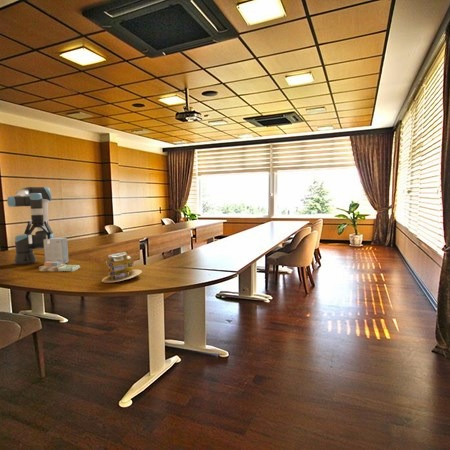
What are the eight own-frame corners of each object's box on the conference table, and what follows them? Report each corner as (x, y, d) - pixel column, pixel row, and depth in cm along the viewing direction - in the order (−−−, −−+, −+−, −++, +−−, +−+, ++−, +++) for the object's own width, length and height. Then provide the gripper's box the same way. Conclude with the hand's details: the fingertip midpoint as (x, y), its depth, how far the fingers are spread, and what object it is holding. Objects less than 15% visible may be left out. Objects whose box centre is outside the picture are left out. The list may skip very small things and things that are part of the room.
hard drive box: (69, 262, 246) (67, 237, 244) (63, 264, 239) (61, 239, 237) (51, 262, 248) (49, 237, 246) (44, 264, 240) (42, 239, 238)
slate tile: (51, 266, 221) (51, 262, 220) (55, 264, 225) (55, 261, 225) (57, 266, 220) (57, 262, 220) (61, 264, 225) (61, 261, 224)
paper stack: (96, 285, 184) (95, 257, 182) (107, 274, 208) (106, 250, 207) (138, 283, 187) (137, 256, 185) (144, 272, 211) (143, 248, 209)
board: (39, 271, 219) (38, 267, 219) (48, 267, 229) (48, 263, 229) (57, 271, 218) (57, 267, 217) (66, 268, 227) (65, 264, 227)
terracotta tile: (44, 266, 221) (44, 262, 221) (48, 264, 226) (48, 261, 225) (50, 266, 221) (49, 262, 221) (54, 264, 225) (54, 261, 225)
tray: (57, 271, 218) (57, 268, 217) (66, 268, 227) (66, 264, 227) (72, 271, 216) (72, 268, 216) (80, 268, 226) (80, 265, 226)
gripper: (17, 215, 218) (19, 244, 220) (50, 214, 216) (52, 244, 218) (24, 214, 226) (26, 242, 228) (56, 214, 223) (58, 242, 226)
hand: (39, 243), depth 223 cm, fingers open, 13 cm apart
